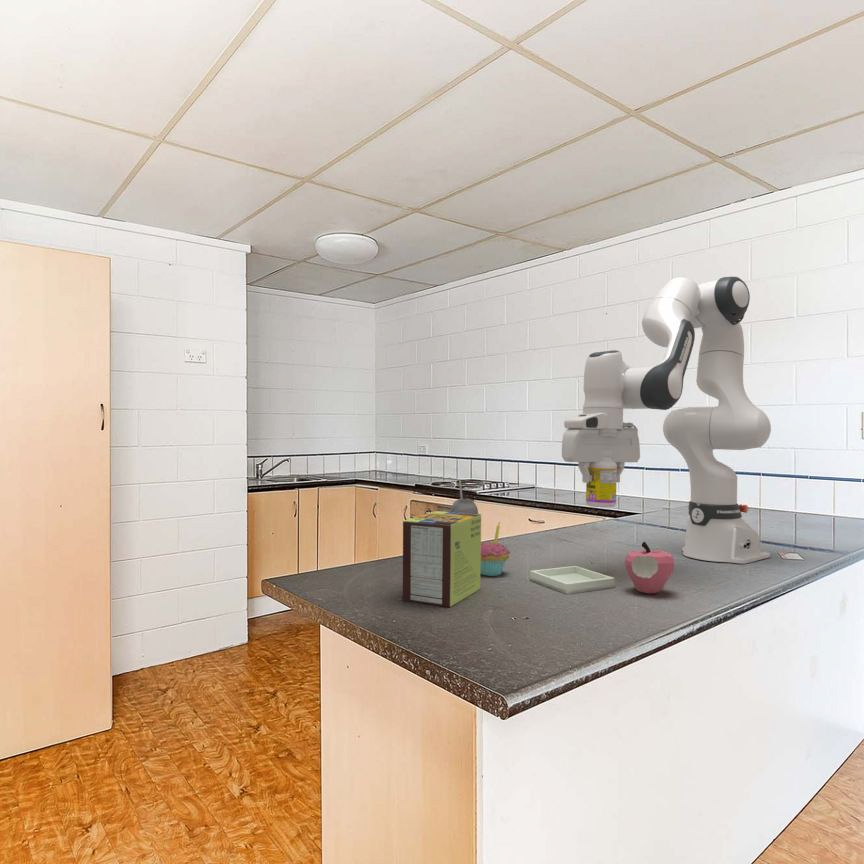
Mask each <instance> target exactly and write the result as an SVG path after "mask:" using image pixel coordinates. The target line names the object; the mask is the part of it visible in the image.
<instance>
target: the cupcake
mask: <svg viewBox="0 0 864 864" xmlns="http://www.w3.org/2000/svg"><path fill="white" fill-rule="evenodd" d="M500 523H501V522H500V521H499V522H498V524H497V525H496V528H495V529H496V530H495V536H494V541H491V542H490V541H489V542H481V570H480V575H483V576H488V577H490V576H491V577H497V576H501V575H502V572H503V570H504V569H503V568H504V566H505V563H506V561H508V560H509V558H510V554H511V552H510V551H509V549H508V548H507V547H506V546H504V545H503V544H501V543H499V542H498V538H499V533H500V527H501V526H500V525H501V524H500Z"/></svg>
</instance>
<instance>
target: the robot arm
mask: <svg viewBox="0 0 864 864" xmlns="http://www.w3.org/2000/svg"><path fill="white" fill-rule="evenodd" d="M750 295H751V294H750V291H749V288H748V286H747V284H746V282H745V281H743V280H742V279H741V278H740V277H738V276H724V277H721V278H719V279H715V280H710V281H707V282H702V283H699V284H697V282H695V281H694V280H692V279H691V278H689V277H684V276H678V277H674V278H672V279H670V280H669V281H667V282H666V283H665V284H664V285H663V286H662V287H661V288H660V290H659V291H658V292H657V293H656V294H655V296H654V297H653V299H652V300H651V302H650V303H649V305H648V307H647V308H646V309H645V312H644V314H643V316H642V320H641V326H642V330H643V333H644V335H645V336H646V337H647V339H649V341H651V342H652V343H654V344H655V345H656V346H660V347H661V348H666V350H665V353H664V356H663V359H662V361H660V362H659V363H656V364H653V365H647V366H636V367H631V366H630V365H628V364H627V363H626V362H625V361H624V360H623V355H622V352H621V351H619V350H615V349H614V350H613V349H612V350H603V351H597V352H595V351H594V352H592V353H590V354H589V355H587V357H586V361H585V365H584V370H583V371H584V374H583V393H584V402H583V405H582V413H579V414H577V415H574V416H571V417H568V418H565V419H564V421H563V425H564V428H565V429H566V430H564V432H563V435H562V441H561V457H562V459H563V460H564V462H566V463H577V464H578V465H577V466H578V469H579V471H580V474H581V475H582V476H581V477H582V483H584V484H586V483H592V482H593V480H592V478H593V475H590V474H589V471H588V468H587V467H589V462H600V461H602V460H603V459H604V456H603V455H602V450H613V455H612V456H611V460H612V461H614V462H615V463H616V464H617V481H616V483H620V482H621V475H622V473H623V471H624V469H625V464H626V463H638V462H639V460H640V458H641V447H640V438H639V435H638V434H639V430H638V427H637V426H636V425H635V424H634V423H633V422H624V410H625V409H628V410H630V409H631V410H633V409H634V410H638V409H639V410H641V409H642V410H643V409H647V410H648V409H649V410H659V411H661V410H662V411H667V410H670V409H671V408H673V407H674V405H675V404H677V403H678V401H679V400H680V399H681V396H682V393H683V389H684V380H685V379H684V378H685V375H686V372H687V368H688V364H689V362H690V358H691V355H692V351H693V348H694V344H695V337H696V335H695V334H696V332H695V329H700V328H701V331H702V337H701V339H700V345H699V350H698V359H697V370H696V371H697V372H696V381H695V382H696V385H697V387H698V389H699V390H700V391H701V392H703V394H706V395H708V396H709V397H712V398H714V399H716V400H718V405H717V406H713V407H712V406H711V407H710V406H708V407H707V406H706V407H705V406H702V407H700V406H699V407H698V406H697V407H696V406H695V407H693V406H692V407H683V408H678V409H673V410H670V412H669V413H668V414H667V415H666V417H665V419H664V420H663V424H662V432H663V435H664V437H665V440H666V441H667V442H668V443H669V445H671V446H672V447H673V448H675V449H676V450H677V451H678V452H679V453H680V455H681V456H682V457H683V459H684V462H685V463H686V465H687V468H688V471H689V472H688V474H689V481H690V483H689V484H690V501H688V506H687V507H688V508H687V509H688V515H689V519H688V521H687V524H686V531H685V540H684V546H683V545H682V547H681V551H683V553H682V554H683V555H684V556H685V557H687V558H690V559H691V558H692V559H696V560H701V561H709V562H716V563H719V562H720V563H733V564H743V565H744V564H749V563H753V562H756V561H759V560H764V559H768V558H771V554H770V552H768V551H764V550H761V543H760V536H759V534H758V532H757V531H756V530H755V529H753V527H751V526H750V525H749V524H748V523H747V522H746V521H745V520H744V519H743V518H742V517H743V516H742V513H746V514H747V513H748V511H749V510H750V509H749V506H748V505H747V504H741V503H740V504H739V503H738V476H737V474H736V472H735V470H733V468H731V467H730V466H728V465H727V464H725V463H723V462H722V461H721V462H720V461H719V460H717V459H716V457H715V455H714V450H726V451H727V450H731V451H734V450H735V451H745V450H752V449H758V448H761V447H763V446H764V445H765V444H766V443H767V441H768V440H769V438H770V436H771V431H772V426H771V421H770V418H769V417H768V415H767V414H766V413H765V412H764V411H763V410H762V409H760V408H759V407H757V406H756V405H755V404H754V403H753V402H752V401H751V400H750V398H749V397H748V395H747V393H746V391H745V390H746V389H745V385H744V360H745V338H744V331H743V327H742V325H741V322H742V320H744V318H745V314H746V313H747V311H748V307H749V305H750V299H751V296H750Z"/></svg>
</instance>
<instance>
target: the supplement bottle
mask: <svg viewBox="0 0 864 864" xmlns="http://www.w3.org/2000/svg"><path fill="white" fill-rule="evenodd" d="M602 455H603V456H604V459H603V460H602V461H600V462H589V467H587V468H588V471H589V474H590V475H593V478H592V480H593V482H592V483H585V485H586V486H585V487H586V488H585V504H586V506H589V507H595V508H613V507H615V506H616V505H617V482H616V481H617V464H616V463H615V462H614V461H612V460H611V456H612V455H613V450H602Z"/></svg>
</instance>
